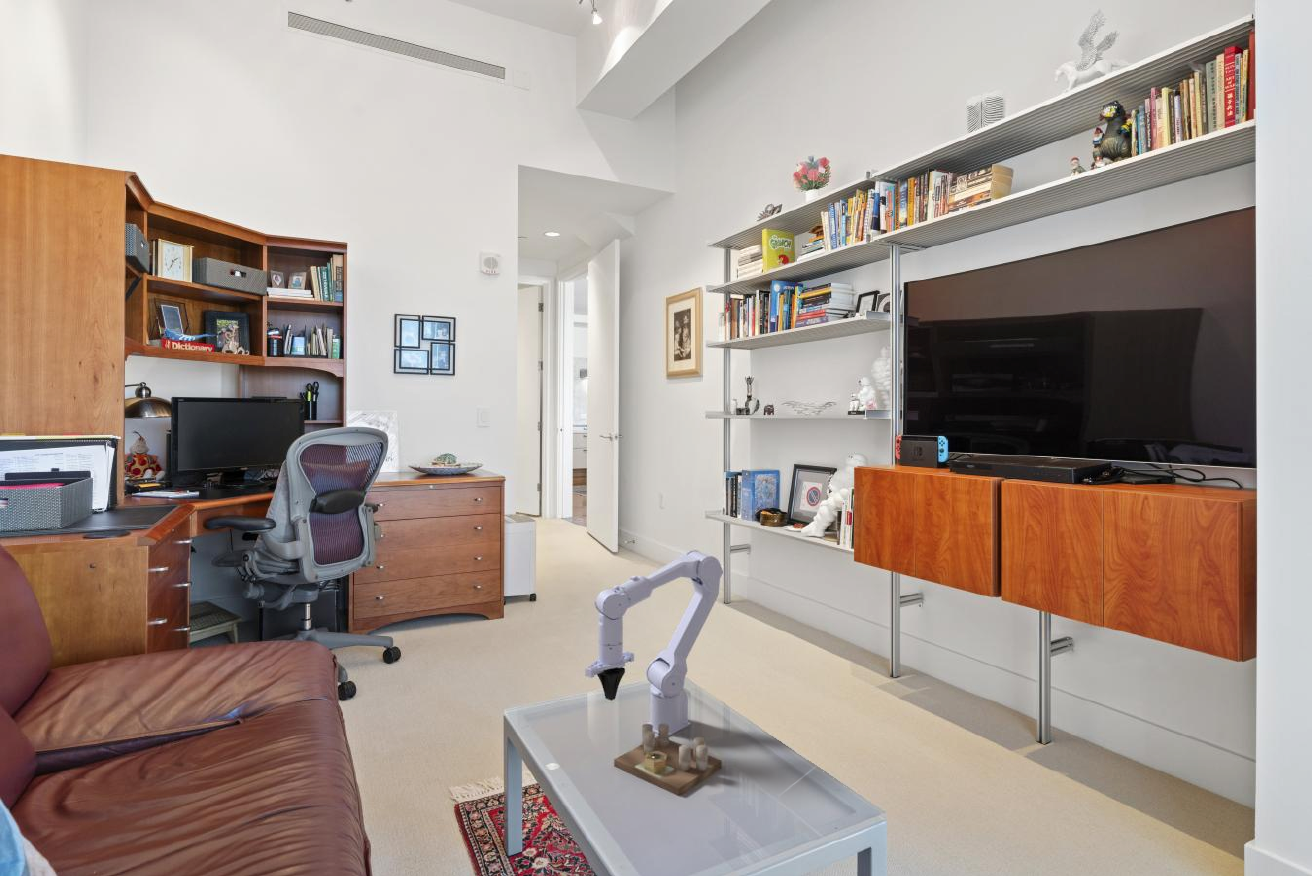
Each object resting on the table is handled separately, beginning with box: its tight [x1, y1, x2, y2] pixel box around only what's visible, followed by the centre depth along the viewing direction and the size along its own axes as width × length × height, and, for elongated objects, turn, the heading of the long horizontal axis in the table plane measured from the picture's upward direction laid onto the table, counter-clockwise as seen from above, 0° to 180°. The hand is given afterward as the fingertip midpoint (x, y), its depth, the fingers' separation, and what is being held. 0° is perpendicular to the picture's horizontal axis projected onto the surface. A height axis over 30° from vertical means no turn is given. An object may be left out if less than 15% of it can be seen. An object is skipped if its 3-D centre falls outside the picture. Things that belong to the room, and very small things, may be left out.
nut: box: [645, 751, 667, 774], centre depth 149 cm, size 4×5×2 cm
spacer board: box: [613, 723, 723, 796], centre depth 152 cm, size 15×18×6 cm
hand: (610, 698), depth 165 cm, fingers closed
